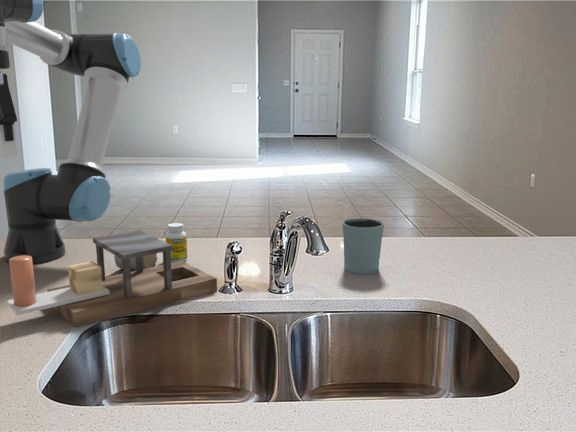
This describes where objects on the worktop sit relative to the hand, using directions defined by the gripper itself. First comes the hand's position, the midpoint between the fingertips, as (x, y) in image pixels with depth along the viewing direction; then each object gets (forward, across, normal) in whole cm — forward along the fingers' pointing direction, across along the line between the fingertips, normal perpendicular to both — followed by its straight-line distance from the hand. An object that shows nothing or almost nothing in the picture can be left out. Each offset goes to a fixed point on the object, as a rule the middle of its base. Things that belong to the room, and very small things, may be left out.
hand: (0, 153), depth 125 cm
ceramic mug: (+32, +2, +29) cm, 43 cm away
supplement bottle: (+32, +2, +39) cm, 51 cm away
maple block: (+27, +20, +8) cm, 34 cm away
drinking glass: (+32, +38, +71) cm, 87 cm away
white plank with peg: (+28, +20, +3) cm, 34 cm away
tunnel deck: (+31, +20, +19) cm, 41 cm away
